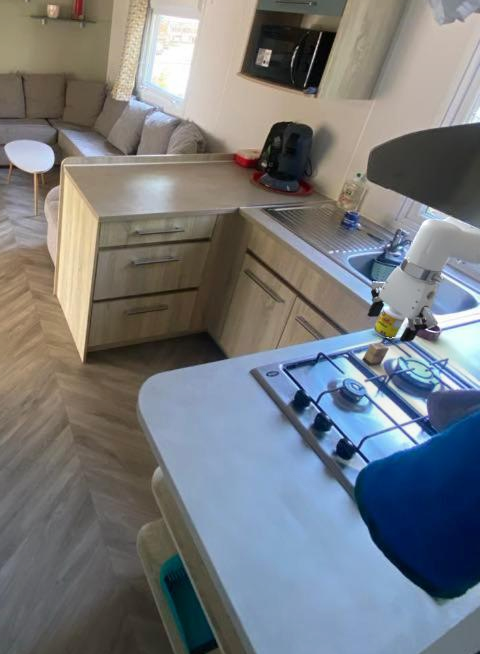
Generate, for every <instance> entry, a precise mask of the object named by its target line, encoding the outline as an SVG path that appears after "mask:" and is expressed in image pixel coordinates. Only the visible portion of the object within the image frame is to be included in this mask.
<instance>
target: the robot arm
mask: <svg viewBox="0 0 480 654" xmlns="http://www.w3.org/2000/svg"><path fill="white" fill-rule="evenodd" d="M452 258H453V259H456V260H459V261H462V262H465V263H468V264H471V265H476V266H480V229H477V228H474V227H472V226H469V225H467V224H464V223H461V222H459V221H456V220H455V219H452V218H450V216H449V217H446V218H445V219H439V218H438V219H437V218H429V219H425V220H424V221H423V222H422V224H421V225H420V227H419V229H418V231H417V233H416V235H415V237H414V239H413V241H412V243H410V246H409V248H408V250H407V252H406V253H405V256H404V257H403V259H402V262H401V263H400V265H397V266H396V268H395V269H394V270H392V272H391V273H389V276H387V279H386V280H385V282H384V281H371V290H370V293H371V297H372V298H371V302H372V304H371V305H370V307H369V309H368V312H367V316H368V317H370V318H373V317H374V318H375V317H380V315H381V313H382V311H383V309H384V307H385V304H386V305H387V306H390V307H392V308H393V309H394V310H396V311H397V312H399V313H400V314H402V315H403V316H405V317H406V318H405V319H407V323H408V322H409V326H410V327H406V328H404V331H403V333H402V334H401V335H400V337H399V341H400V342H402V343H407V342H413V340H415V338H416V336H417V335H416V334H417V333H418V331H419V330H425V329H430V328H432V327H434V326H436V325H439V322H438V321H437V319H436V317H435V316H434V314H433V313H432V312H431V310H432V308H433V305H434V302H435V300H436V298H437V295H438V291H439V287H440V284H441V283H443V282H444V281H445V278H444V277H442V274H443V270H444V269H445V267H446V266H447V264H448V262H449V260H450V259H452ZM380 288H381V289H380ZM421 319H426V323H424V324H422V320H421ZM415 323H416V324H415Z"/></svg>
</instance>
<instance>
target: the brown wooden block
mask: <svg viewBox="0 0 480 654" xmlns="http://www.w3.org/2000/svg"><path fill="white" fill-rule="evenodd" d="M389 350H390V348H389V347H388V346H387V345H385V344H384V343H383V342H377V343H376V342H375V343H370V344H369V346H368V348H367V349H366V351H365V354H364V356H362V359H361V360H362V361H363V362H364V363H365V364H366V365H367V366H368V367H372V366H373V367H374V366H380V365H382V362H383V361H384V359H385V357H386V355H387V353H388V351H389Z"/></svg>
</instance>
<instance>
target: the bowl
mask: <svg viewBox="0 0 480 654" xmlns="http://www.w3.org/2000/svg"><path fill="white" fill-rule="evenodd" d="M421 320H422V324H424V323H426V319H421ZM415 324H416V323H415ZM406 325H407V327H410V326H409V322H408V321H407V324H406ZM407 327H406V328H407ZM442 333H443V328H442V327H441V326H440V325H439V324H438V325H436V326H434V327H432V328H430V329H425V330H419V331H418V333H417V334H416V336H417V337H419V338H422V339H424V340H427V341H436V340H438V339H439V338H440V337H441V334H442Z"/></svg>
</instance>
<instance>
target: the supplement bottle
mask: <svg viewBox="0 0 480 654" xmlns="http://www.w3.org/2000/svg"><path fill="white" fill-rule="evenodd" d="M406 319H407V318H406V317H405V316H403V315H402V314H400V313H399V312H397V311H396V310H394V309H393V308H392V307H390V306H389V305H387V306H384V307H383V308H382V310H381V312H380V314H379V316H378V318H377V321H376V322H375V324H374V326H373V331H374V333H375V334H376V335H377V336H379V337H381V338H383V339H385V337H389V338H392V337H395V338H396V336H397V334H398V333H399V331H400V329H401V327H402V325H403V324H404V322H405V321H406ZM389 338H387V339H386V340H390V339H389ZM395 338H393V339H392V340H394V339H395Z"/></svg>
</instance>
